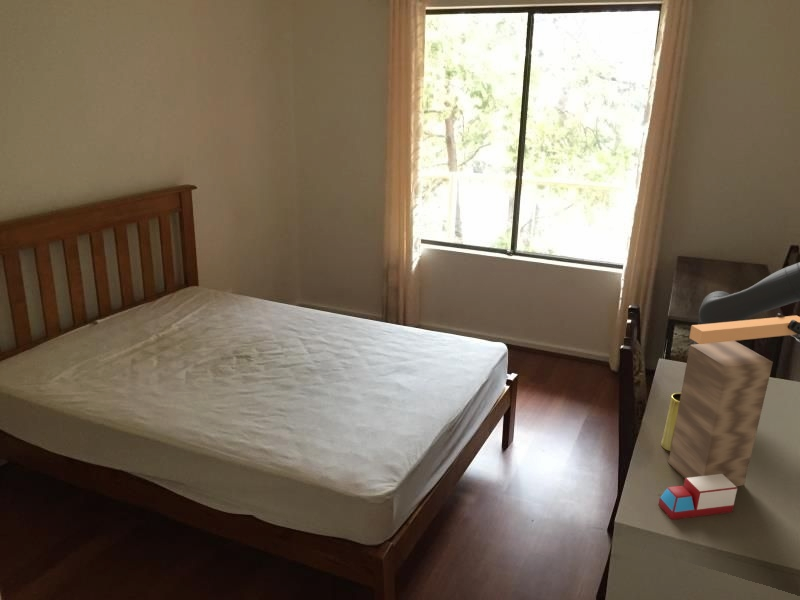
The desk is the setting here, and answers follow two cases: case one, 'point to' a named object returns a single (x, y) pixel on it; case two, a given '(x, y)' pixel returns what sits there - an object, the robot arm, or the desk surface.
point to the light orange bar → (742, 330)
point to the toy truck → (699, 497)
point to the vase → (671, 421)
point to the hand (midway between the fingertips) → (783, 320)
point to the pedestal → (719, 410)
